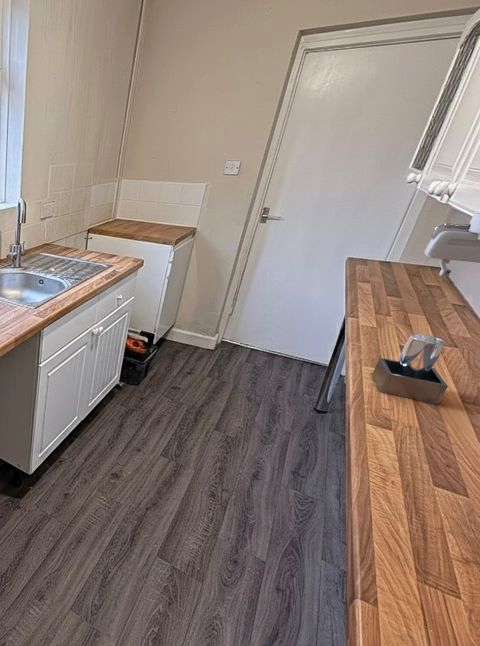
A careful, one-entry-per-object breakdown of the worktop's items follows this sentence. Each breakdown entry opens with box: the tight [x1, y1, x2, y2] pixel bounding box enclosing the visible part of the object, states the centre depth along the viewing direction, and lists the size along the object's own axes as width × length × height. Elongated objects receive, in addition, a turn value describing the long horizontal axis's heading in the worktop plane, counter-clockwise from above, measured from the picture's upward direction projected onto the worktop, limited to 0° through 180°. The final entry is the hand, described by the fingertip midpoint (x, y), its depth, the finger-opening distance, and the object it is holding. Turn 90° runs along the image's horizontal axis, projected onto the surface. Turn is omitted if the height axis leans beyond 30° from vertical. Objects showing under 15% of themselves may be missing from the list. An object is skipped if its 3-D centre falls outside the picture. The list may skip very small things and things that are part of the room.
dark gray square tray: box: [372, 357, 449, 405], centre depth 116 cm, size 12×12×6 cm
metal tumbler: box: [396, 333, 446, 380], centre depth 114 cm, size 7×7×15 cm
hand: (468, 278), depth 110 cm, fingers open, 8 cm apart
